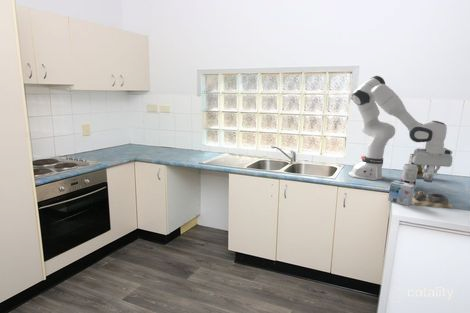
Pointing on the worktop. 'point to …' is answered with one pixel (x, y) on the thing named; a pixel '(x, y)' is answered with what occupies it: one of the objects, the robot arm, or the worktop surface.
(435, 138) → the robot arm
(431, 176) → the pipe fitting
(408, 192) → the light bulb box
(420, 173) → the coffee box
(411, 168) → the supplement can
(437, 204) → the manifold plate
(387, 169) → the worktop surface
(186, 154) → the worktop surface
